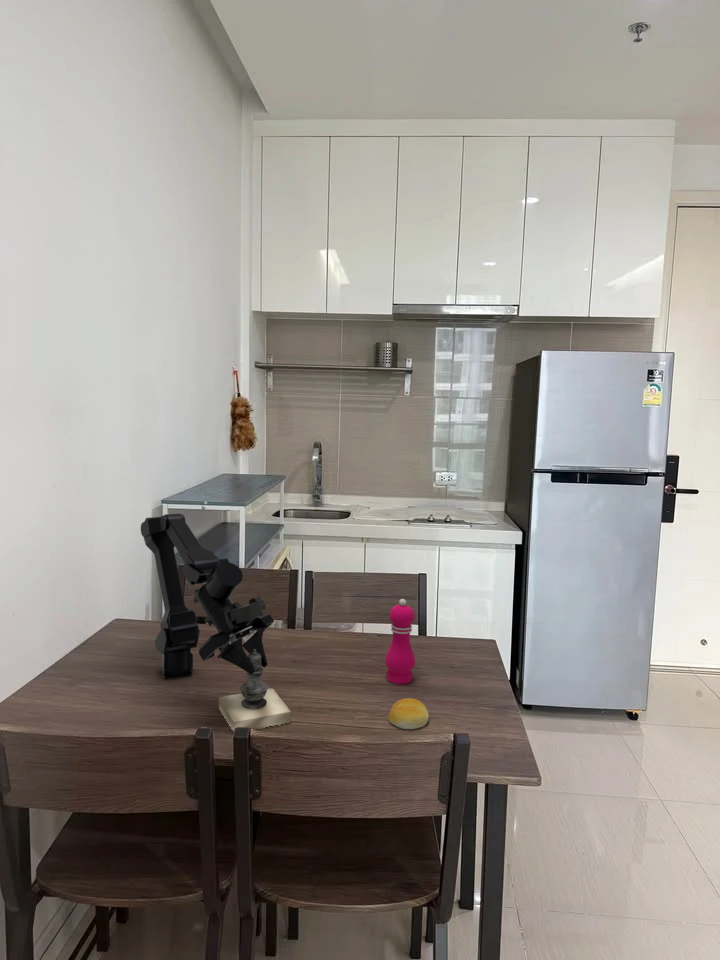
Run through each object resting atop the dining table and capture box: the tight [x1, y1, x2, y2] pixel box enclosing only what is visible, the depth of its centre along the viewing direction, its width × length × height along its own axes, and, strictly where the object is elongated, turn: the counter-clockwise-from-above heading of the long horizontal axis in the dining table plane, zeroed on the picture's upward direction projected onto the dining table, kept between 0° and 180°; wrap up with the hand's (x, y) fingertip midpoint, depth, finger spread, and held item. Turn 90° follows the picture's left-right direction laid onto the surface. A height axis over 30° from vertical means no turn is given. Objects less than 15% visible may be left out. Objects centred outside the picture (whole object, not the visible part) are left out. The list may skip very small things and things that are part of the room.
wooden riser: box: [218, 688, 292, 730], centre depth 136 cm, size 12×12×2 cm
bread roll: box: [387, 697, 430, 730], centre depth 136 cm, size 8×9×4 cm
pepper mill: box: [385, 598, 416, 685], centre depth 156 cm, size 7×7×20 cm
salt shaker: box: [239, 649, 269, 709], centre depth 135 cm, size 6×6×12 cm
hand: (259, 669), depth 134 cm, fingers open, 4 cm apart
